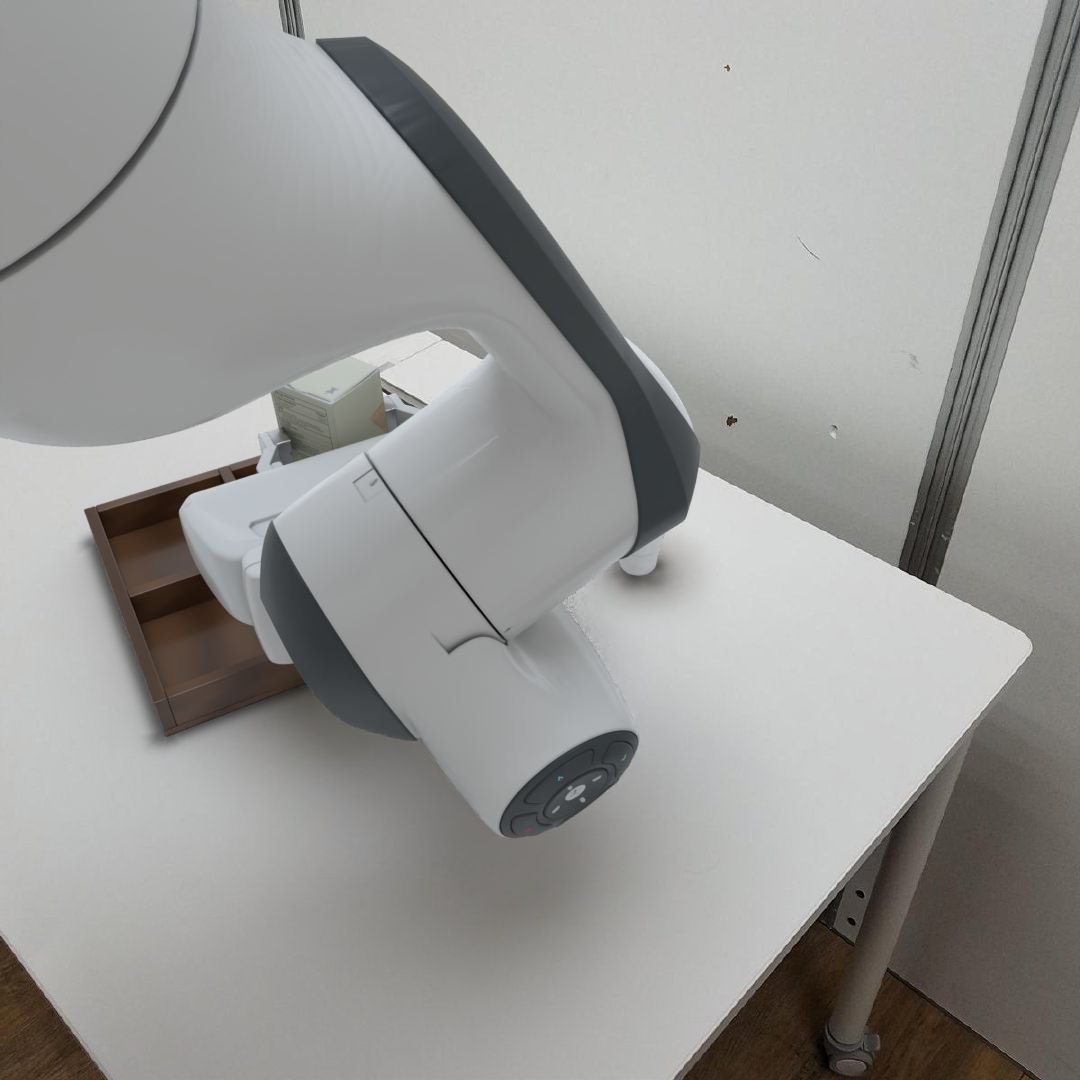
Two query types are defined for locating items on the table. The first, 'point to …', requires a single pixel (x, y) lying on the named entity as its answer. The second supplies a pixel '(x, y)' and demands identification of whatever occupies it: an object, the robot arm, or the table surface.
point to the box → (331, 408)
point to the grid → (181, 607)
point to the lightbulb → (643, 558)
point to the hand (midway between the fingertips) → (327, 422)
